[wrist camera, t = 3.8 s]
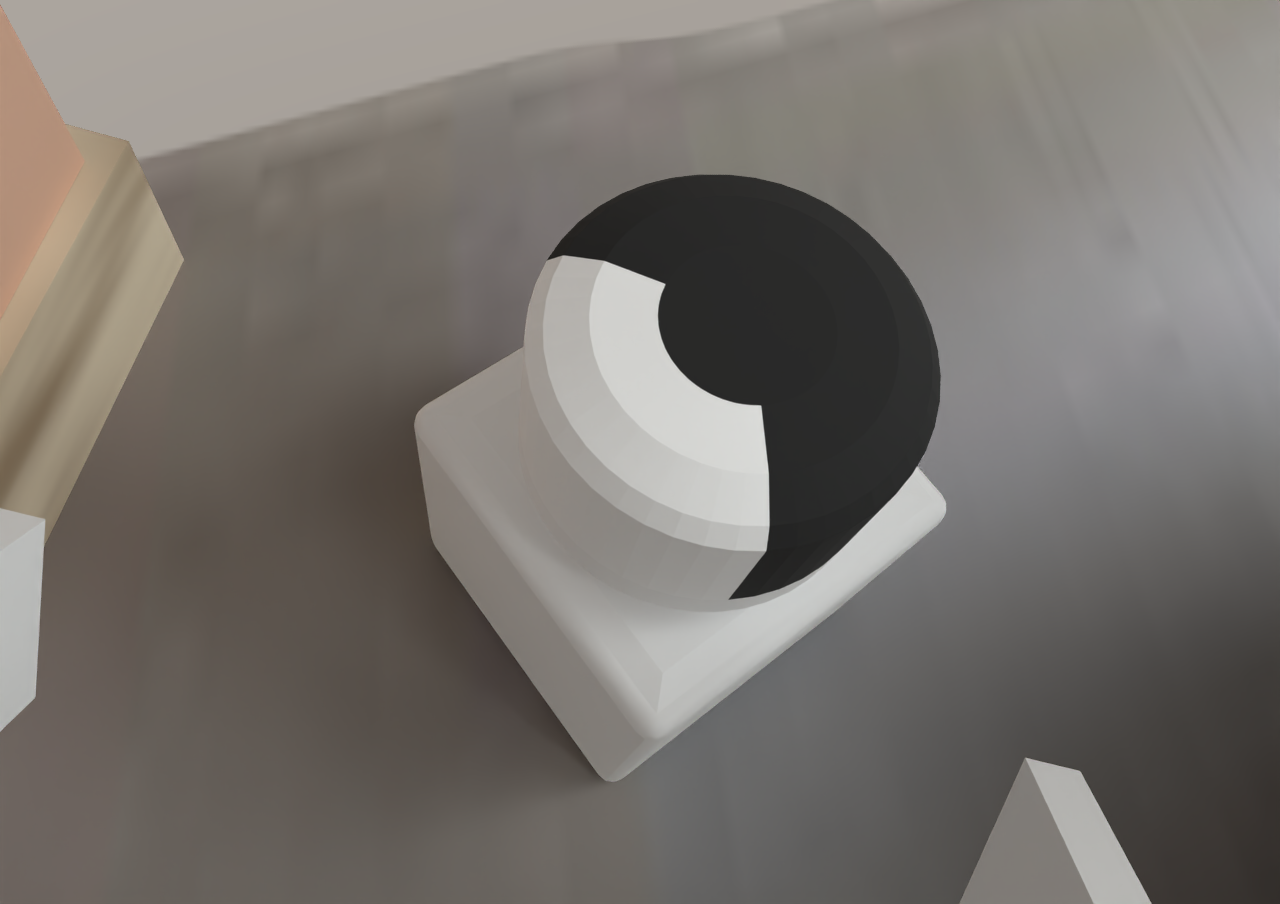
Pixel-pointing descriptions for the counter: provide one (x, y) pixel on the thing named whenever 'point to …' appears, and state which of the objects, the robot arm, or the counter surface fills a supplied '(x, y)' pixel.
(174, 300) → the counter surface
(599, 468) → the medicine bottle
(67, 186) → the top block
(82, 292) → the bottom block
